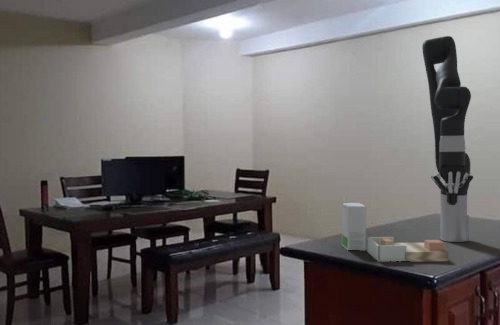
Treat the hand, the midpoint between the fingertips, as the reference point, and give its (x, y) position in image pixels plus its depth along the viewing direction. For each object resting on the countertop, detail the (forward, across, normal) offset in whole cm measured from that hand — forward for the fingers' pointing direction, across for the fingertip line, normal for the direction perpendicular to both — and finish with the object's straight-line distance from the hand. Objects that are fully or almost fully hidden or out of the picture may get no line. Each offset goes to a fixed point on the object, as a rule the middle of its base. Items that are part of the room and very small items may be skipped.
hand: (451, 204), depth 155 cm
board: (+17, +9, -2) cm, 20 cm away
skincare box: (+17, +28, -15) cm, 36 cm away
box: (+17, +20, -2) cm, 27 cm away
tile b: (+14, +6, +1) cm, 15 cm away
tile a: (+14, +18, -5) cm, 23 cm away
